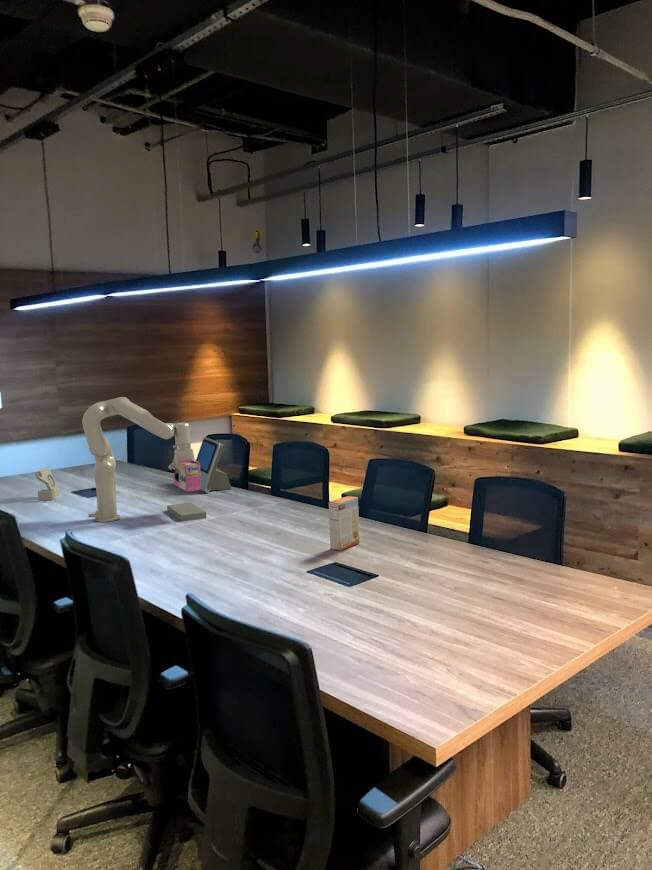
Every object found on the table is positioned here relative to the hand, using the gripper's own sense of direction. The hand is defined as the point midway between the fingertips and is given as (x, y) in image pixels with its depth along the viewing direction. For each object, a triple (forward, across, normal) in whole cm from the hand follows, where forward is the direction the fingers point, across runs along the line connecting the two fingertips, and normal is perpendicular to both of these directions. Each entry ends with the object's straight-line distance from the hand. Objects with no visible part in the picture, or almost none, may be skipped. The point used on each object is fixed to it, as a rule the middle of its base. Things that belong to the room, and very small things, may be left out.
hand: (185, 479), depth 373 cm
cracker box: (+20, +41, -96) cm, 106 cm away
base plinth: (+18, -1, 0) cm, 18 cm away
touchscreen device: (+19, +33, +61) cm, 72 cm away
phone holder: (+18, -58, +83) cm, 103 cm away
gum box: (+4, 0, -3) cm, 5 cm away
